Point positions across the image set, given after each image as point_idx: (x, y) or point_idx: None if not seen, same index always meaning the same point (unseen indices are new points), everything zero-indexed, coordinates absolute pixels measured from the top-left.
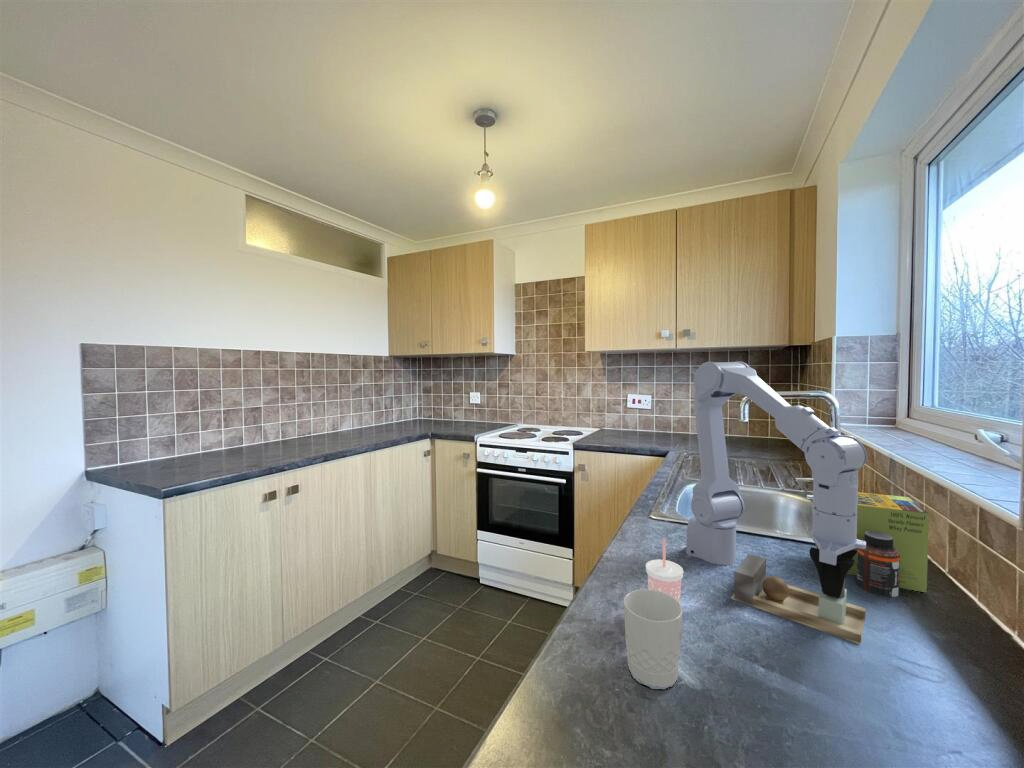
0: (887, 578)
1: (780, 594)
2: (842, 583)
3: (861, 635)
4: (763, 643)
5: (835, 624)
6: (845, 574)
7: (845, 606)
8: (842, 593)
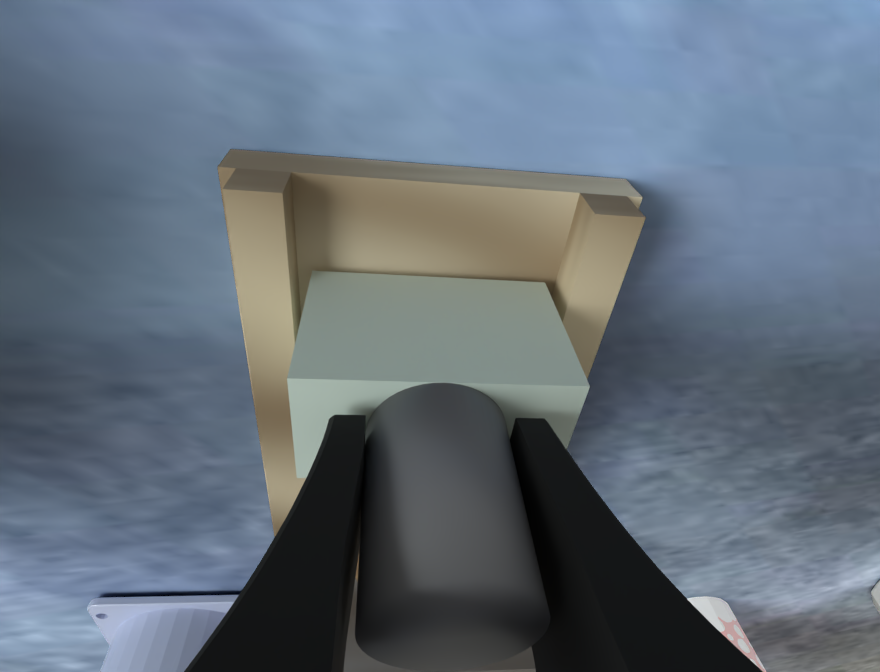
0: None
1: None
2: (626, 532)
3: (535, 191)
4: (717, 455)
5: (581, 325)
6: (734, 647)
7: (361, 308)
8: (487, 419)
